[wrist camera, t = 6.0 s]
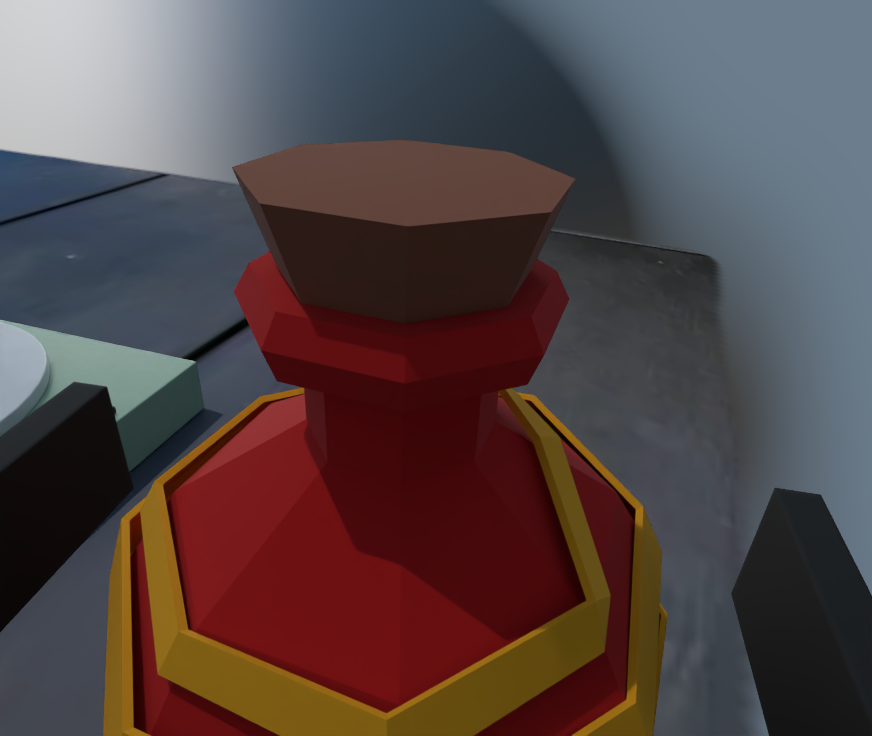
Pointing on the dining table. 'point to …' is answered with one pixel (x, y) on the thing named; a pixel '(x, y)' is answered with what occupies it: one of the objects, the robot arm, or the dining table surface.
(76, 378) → the kitchen scale
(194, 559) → the potion bottle
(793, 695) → the robot arm
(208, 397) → the dining table surface
